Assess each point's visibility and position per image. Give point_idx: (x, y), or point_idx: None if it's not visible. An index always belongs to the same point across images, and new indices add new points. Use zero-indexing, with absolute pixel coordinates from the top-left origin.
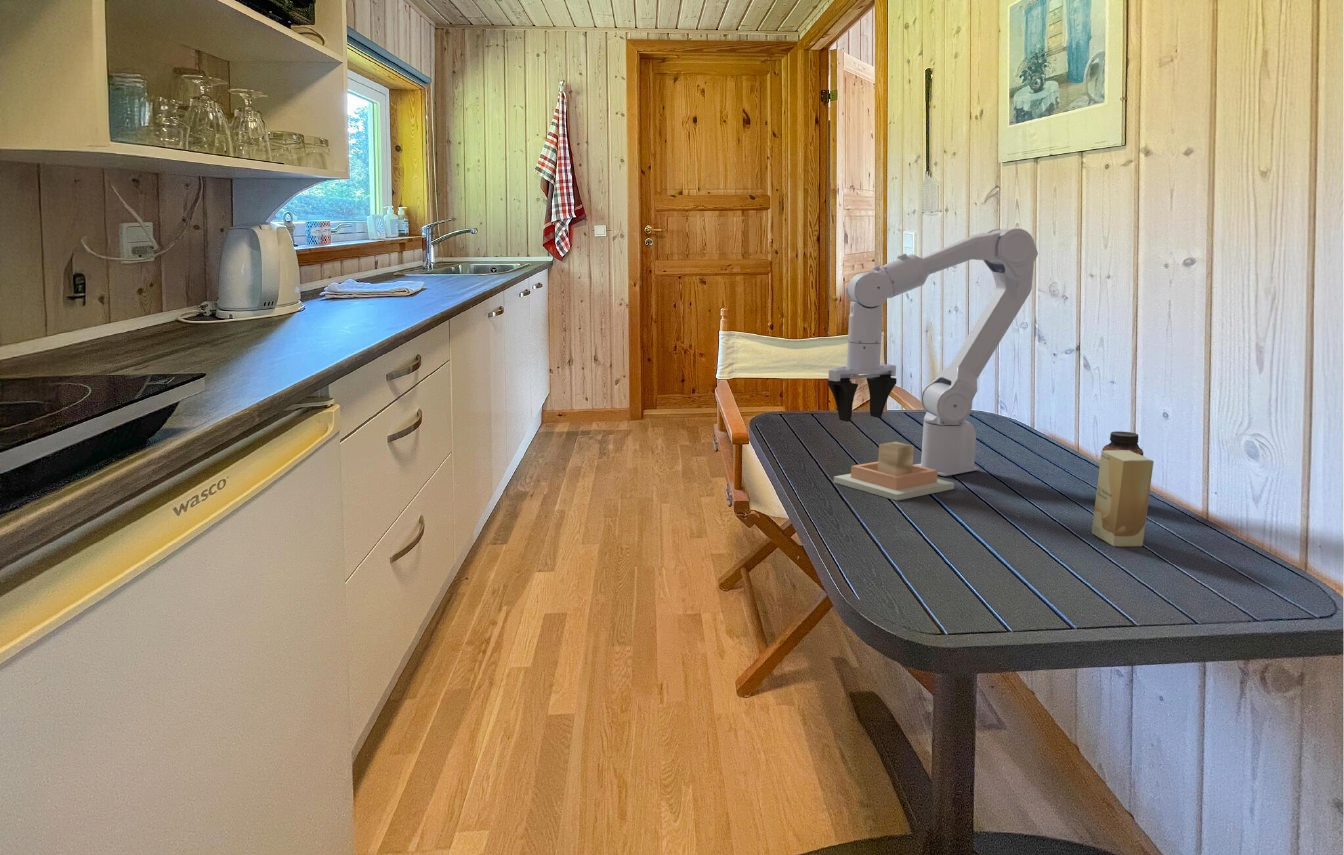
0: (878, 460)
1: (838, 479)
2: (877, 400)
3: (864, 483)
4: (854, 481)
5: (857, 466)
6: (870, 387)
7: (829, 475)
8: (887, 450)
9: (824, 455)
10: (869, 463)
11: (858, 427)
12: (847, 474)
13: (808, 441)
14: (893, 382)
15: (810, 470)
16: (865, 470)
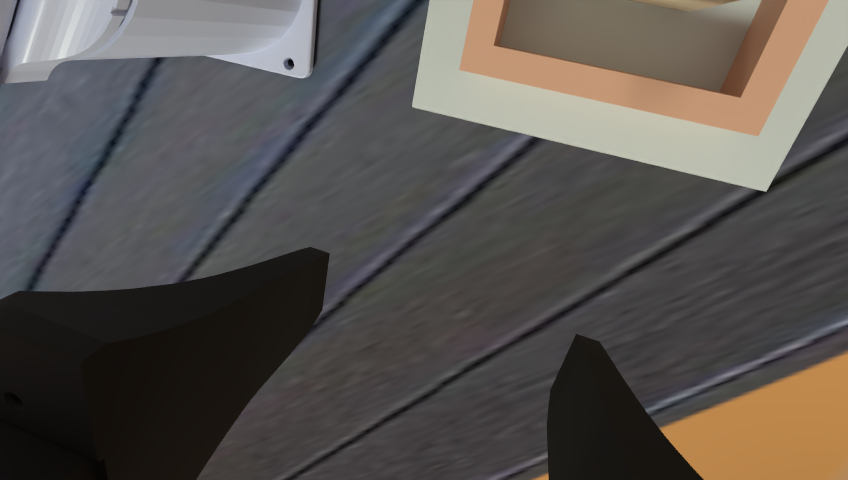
0: (719, 3)
1: (778, 161)
2: (259, 332)
3: (836, 3)
4: (819, 66)
5: (750, 106)
6: (198, 461)
7: (636, 251)
8: None
9: (373, 379)
10: (635, 97)
11: None
12: (684, 166)
13: (269, 466)
14: (46, 312)
15: (604, 334)
16: (814, 26)
